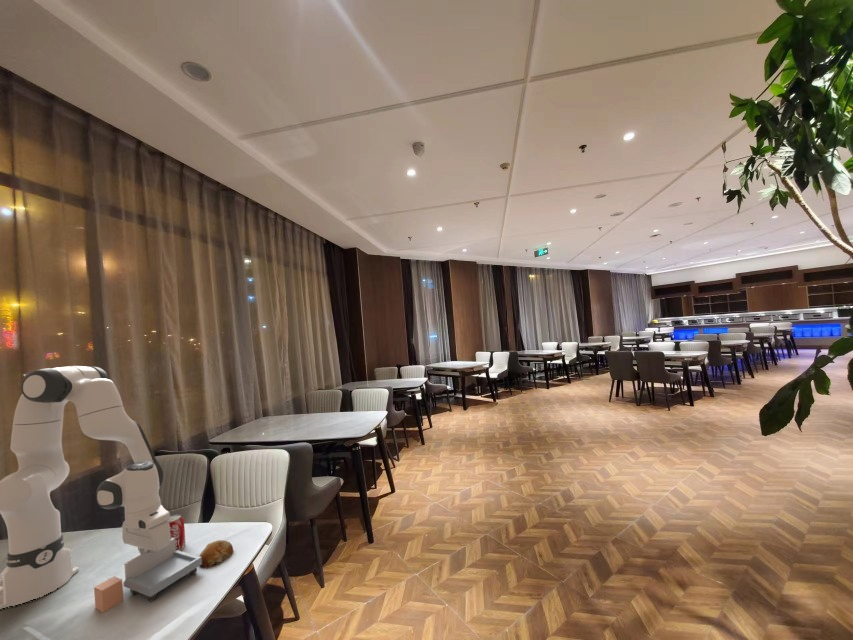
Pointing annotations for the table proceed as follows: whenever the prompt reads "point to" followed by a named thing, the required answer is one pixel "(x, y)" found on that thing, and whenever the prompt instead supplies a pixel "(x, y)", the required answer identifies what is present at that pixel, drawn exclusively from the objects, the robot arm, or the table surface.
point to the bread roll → (216, 553)
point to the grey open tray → (158, 570)
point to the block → (108, 593)
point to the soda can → (177, 531)
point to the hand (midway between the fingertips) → (147, 560)
